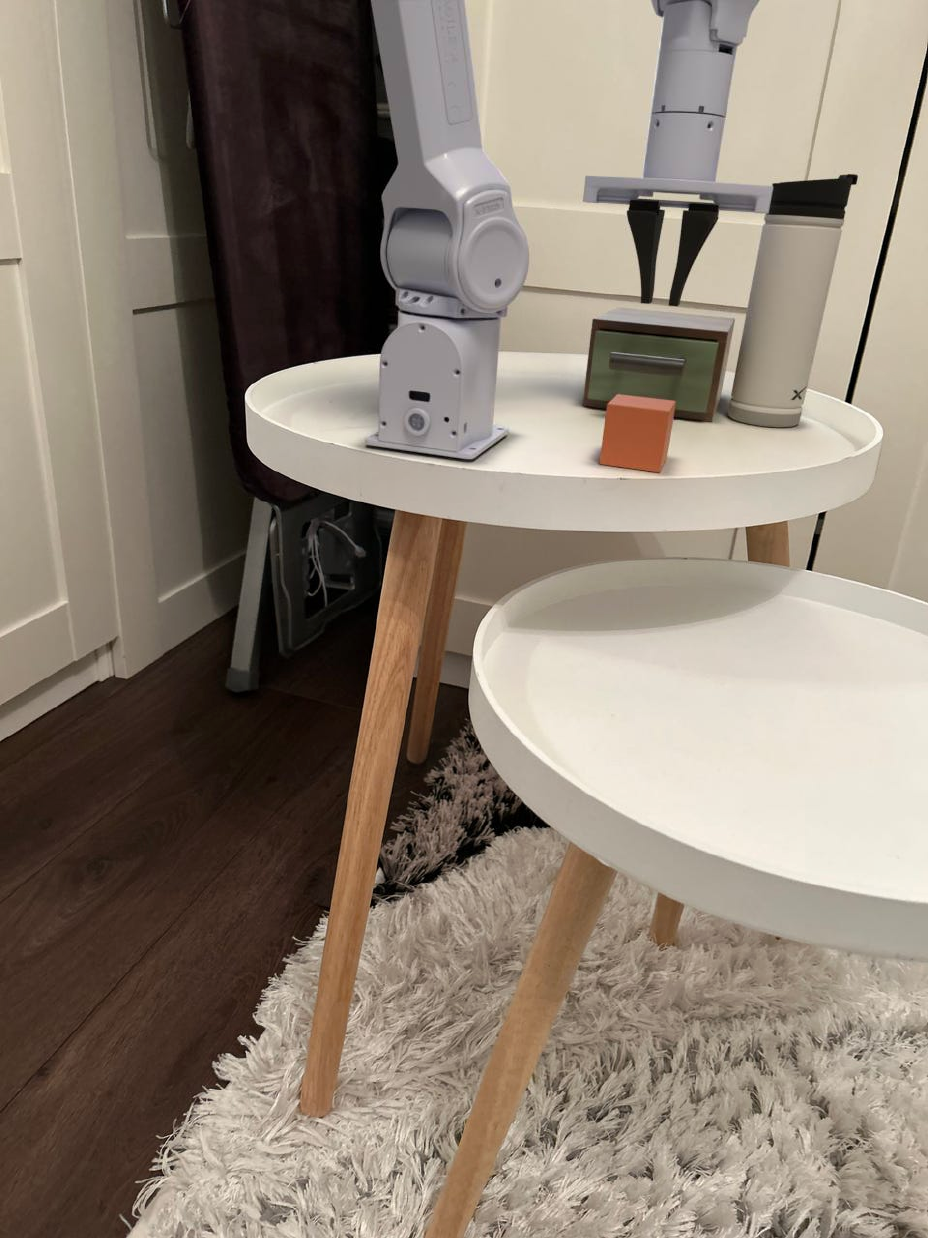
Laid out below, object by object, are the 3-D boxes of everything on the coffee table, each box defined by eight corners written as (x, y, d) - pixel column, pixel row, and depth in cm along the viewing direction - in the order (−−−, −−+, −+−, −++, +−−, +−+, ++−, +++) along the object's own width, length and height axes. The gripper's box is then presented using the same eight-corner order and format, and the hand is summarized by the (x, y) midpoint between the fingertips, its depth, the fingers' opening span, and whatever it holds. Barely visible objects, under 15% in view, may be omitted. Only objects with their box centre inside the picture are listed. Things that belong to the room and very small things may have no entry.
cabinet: (712, 421, 77) (728, 331, 74) (582, 405, 80) (592, 318, 77) (720, 397, 89) (735, 318, 86) (607, 383, 92) (617, 307, 89)
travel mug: (812, 430, 77) (871, 173, 68) (737, 425, 76) (786, 167, 68) (790, 415, 82) (841, 176, 74) (719, 410, 82) (763, 171, 74)
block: (659, 472, 60) (669, 411, 58) (599, 464, 61) (607, 403, 59) (666, 459, 64) (676, 400, 62) (609, 451, 65) (616, 393, 63)
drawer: (701, 423, 72) (714, 349, 69) (577, 407, 75) (585, 336, 72) (715, 390, 87) (726, 329, 84) (610, 378, 90) (618, 319, 87)
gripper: (785, 126, 69) (751, 308, 75) (603, 119, 73) (583, 293, 79) (786, 115, 63) (748, 314, 69) (587, 108, 67) (567, 298, 72)
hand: (660, 304), depth 73 cm, fingers closed
